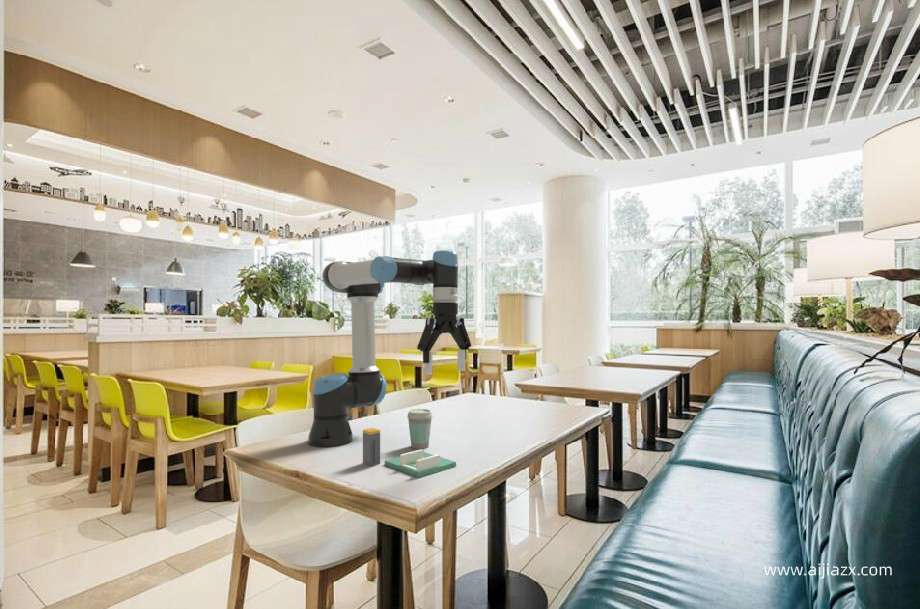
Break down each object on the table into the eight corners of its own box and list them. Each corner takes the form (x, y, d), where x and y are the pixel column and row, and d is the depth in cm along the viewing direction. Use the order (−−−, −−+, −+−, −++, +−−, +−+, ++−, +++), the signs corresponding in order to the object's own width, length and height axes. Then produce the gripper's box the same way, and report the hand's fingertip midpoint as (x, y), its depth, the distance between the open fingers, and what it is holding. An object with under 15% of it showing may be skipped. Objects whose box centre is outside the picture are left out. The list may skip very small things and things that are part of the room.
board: (384, 464, 138) (384, 450, 138) (421, 455, 148) (421, 441, 148) (418, 477, 127) (418, 462, 127) (456, 466, 137) (456, 451, 137)
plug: (362, 463, 140) (362, 429, 140) (372, 460, 142) (372, 427, 143) (371, 466, 137) (371, 432, 137) (381, 463, 139) (381, 430, 139)
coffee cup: (428, 450, 153) (428, 413, 153) (403, 449, 155) (403, 413, 155) (435, 443, 161) (435, 409, 162) (411, 442, 163) (411, 408, 163)
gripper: (421, 300, 130) (421, 377, 129) (482, 302, 147) (482, 370, 147) (405, 301, 135) (405, 374, 134) (465, 303, 153) (465, 368, 152)
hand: (445, 372), depth 141 cm, fingers open, 13 cm apart
